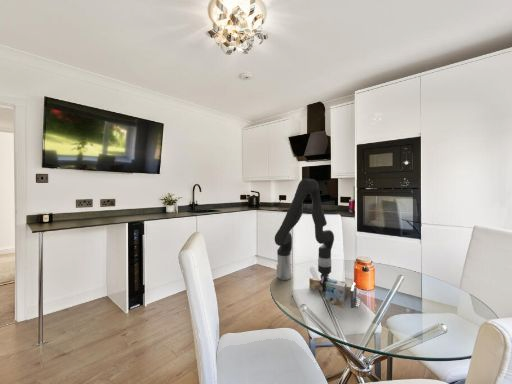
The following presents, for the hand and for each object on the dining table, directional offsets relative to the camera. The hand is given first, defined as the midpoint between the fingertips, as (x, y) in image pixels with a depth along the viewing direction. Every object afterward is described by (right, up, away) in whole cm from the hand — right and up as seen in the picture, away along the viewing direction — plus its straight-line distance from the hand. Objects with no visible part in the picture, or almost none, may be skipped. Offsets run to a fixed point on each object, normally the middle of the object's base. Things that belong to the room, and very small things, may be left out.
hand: (324, 291), depth 146 cm
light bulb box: (+6, -4, -3) cm, 8 cm away
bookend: (+16, -4, -8) cm, 18 cm away
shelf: (+3, -3, 0) cm, 5 cm away
